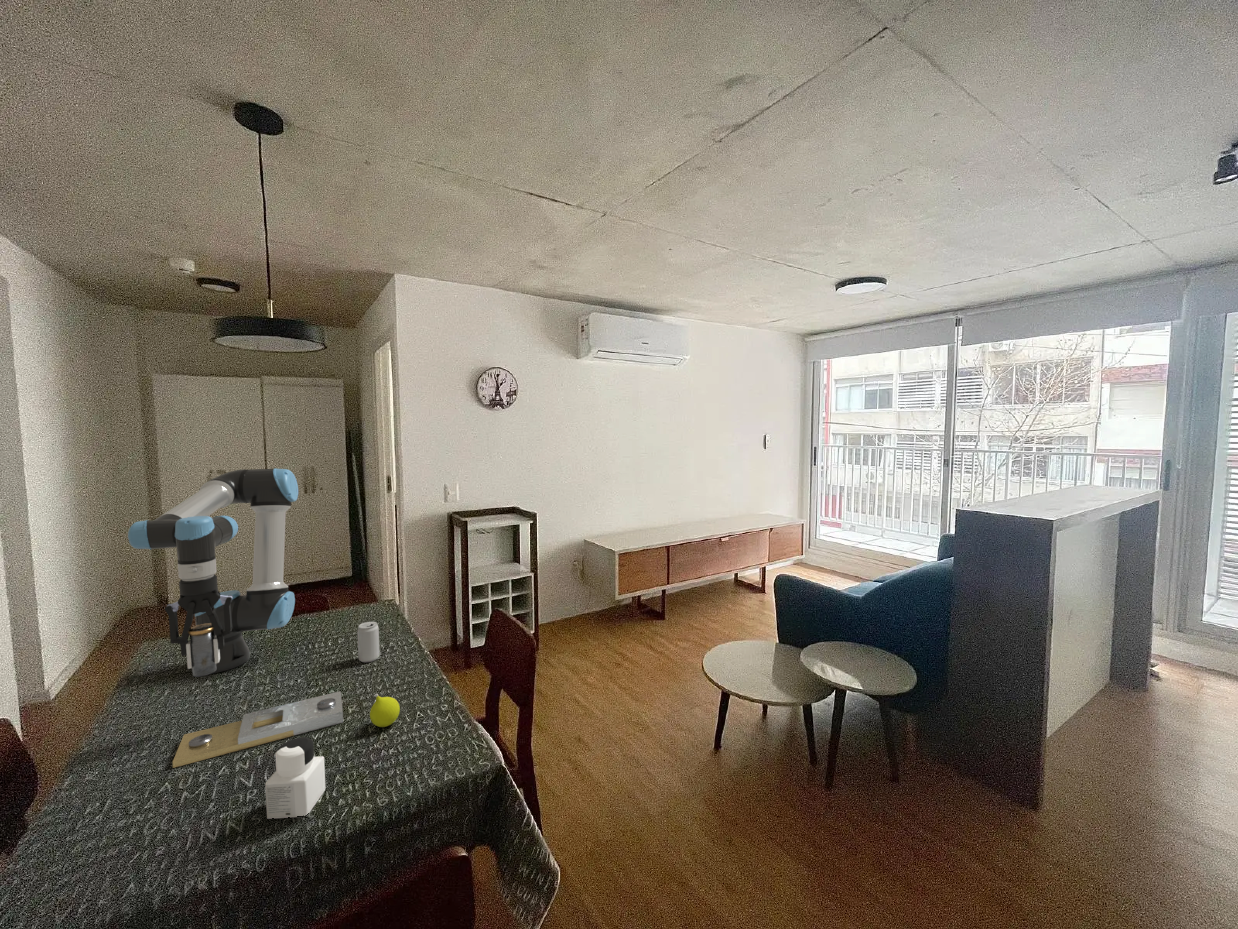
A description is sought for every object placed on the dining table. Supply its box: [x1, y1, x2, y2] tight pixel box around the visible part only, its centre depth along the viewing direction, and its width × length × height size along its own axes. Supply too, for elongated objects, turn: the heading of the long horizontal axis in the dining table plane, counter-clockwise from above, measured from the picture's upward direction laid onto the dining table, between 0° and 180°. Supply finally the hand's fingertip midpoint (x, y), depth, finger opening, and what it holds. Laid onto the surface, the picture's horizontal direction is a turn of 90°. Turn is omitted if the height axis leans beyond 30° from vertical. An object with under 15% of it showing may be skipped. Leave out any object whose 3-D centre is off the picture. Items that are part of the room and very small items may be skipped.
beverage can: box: [356, 621, 381, 663], centre depth 168 cm, size 6×6×12 cm
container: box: [265, 736, 326, 820], centre depth 103 cm, size 8×8×13 cm
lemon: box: [369, 693, 401, 728], centre depth 131 cm, size 7×7×10 cm
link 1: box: [172, 715, 295, 768], centre depth 125 cm, size 12×23×2 cm, turn 122°
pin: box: [188, 623, 217, 678], centre depth 130 cm, size 6×6×12 cm
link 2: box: [238, 690, 344, 744], centre depth 131 cm, size 12×22×4 cm, turn 122°
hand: (204, 663), depth 131 cm, fingers closed on pin, 5 cm apart
